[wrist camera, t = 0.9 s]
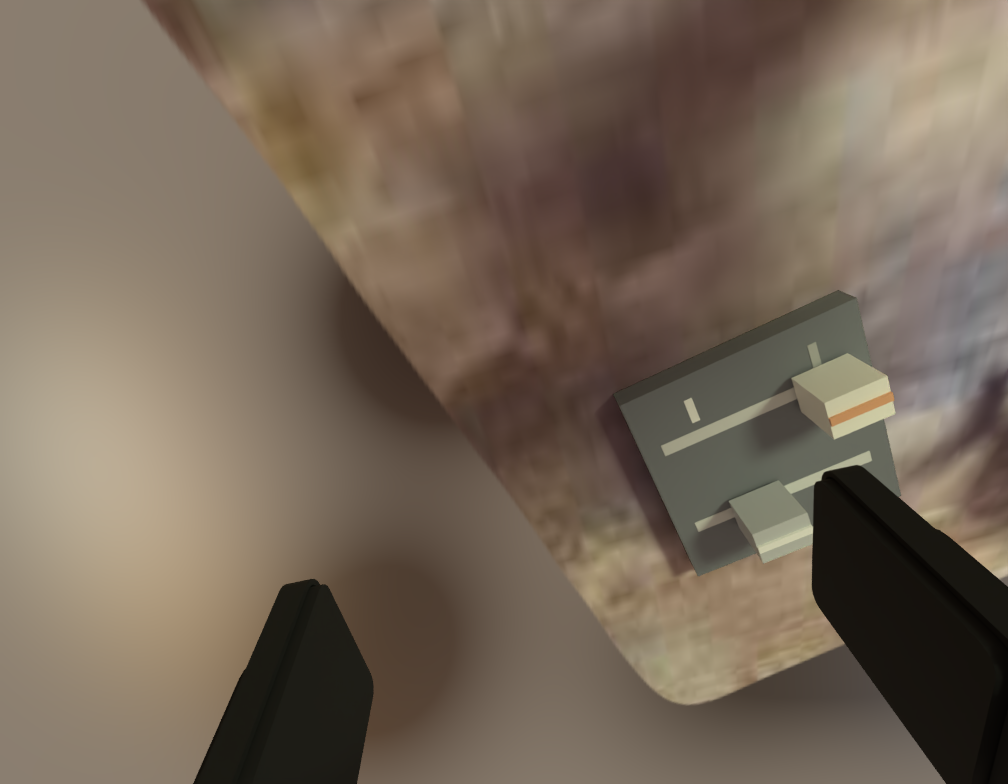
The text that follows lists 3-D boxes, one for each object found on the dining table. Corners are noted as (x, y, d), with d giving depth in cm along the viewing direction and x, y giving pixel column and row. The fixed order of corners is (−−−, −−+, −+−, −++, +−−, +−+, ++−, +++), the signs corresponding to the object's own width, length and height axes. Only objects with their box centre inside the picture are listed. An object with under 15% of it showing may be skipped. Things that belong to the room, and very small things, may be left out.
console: (838, 290, 38) (856, 297, 36) (883, 481, 45) (901, 495, 44) (613, 394, 41) (619, 406, 39) (689, 559, 48) (698, 576, 46)
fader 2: (847, 353, 38) (889, 377, 34) (856, 388, 39) (897, 415, 35) (791, 378, 38) (826, 404, 35) (801, 412, 40) (836, 441, 36)
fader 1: (778, 480, 42) (808, 514, 38) (788, 508, 43) (818, 544, 39) (728, 500, 43) (753, 536, 39) (739, 528, 44) (764, 565, 40)
